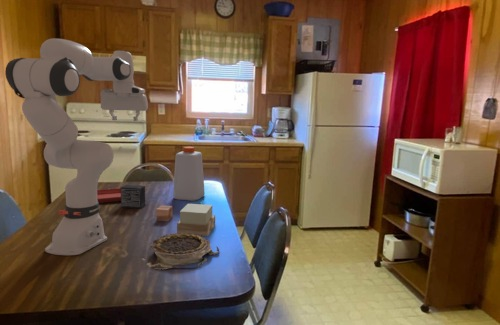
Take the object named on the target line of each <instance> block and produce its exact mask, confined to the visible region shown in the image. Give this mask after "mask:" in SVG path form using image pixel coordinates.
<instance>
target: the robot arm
mask: <svg viewBox="0 0 500 325" xmlns="http://www.w3.org/2000/svg"><path fill="white" fill-rule="evenodd" d="M39 55H40V58H33V57H31V58H27V57H19V58H14V59H11V60H9V62H8V63H7V65H6V66H5V73H4V74H5V79H6V81H7V83H8V85H9V87H10V88H11V89H12V90H13V92H14V94H15V95H16V96H17V97H19V98H21V99H24V100H23V102H22V104H21V111H22V113H23V115H24V117H25V119H26V121H28V123H29V125H30V126H31V128H33V130H34V131H35V132H36V134H38V135H39V137H41V139H42V140H43V141H44V142H45V144H46V145H45V147H44V148H43V149H44V150H43V157H44V158H43V159H44V160H45V162H46V163H47V164H48V165H49V166H51V167H52V166H53V167H56V168H59V169H60V168H61V169H69V170H73V169H74V170H76V171H77V174H76V176H75V177H74V178H72V179H71V180H69V181H68V182H67V183H66V185H65V187H64V190H65V191H64V192H65V206H64V209H59V210H58V215H59V216H63V217H62V219H61V221H60V222H59V224H58V225H57V227H56V228H55V230H53V233H52V238H51V241H52V242H51V243H50V244H49V245H48V246H46V247H45V248H44V251H45V252H46V253H47V254H51V255H56V256H77V255H82V254H83V253H85V252H87V251H88V250H91V249H92V248H94V247H97V246H99V245H101V244H102V243H104V242H106V241H107V240H108V236H106V235H105V231H104V230H105V229H104V223H103V219H102V217H101V216H100V213H99V212H100V203H99V202H98V199H97V190H98V186H99V185H98V184H99V180H100V177H101V175H102V174H103V172H104V171H105V170H107V169H108V168H109V167H110V166H111V165H112V163H113V161H114V157H115V156H114V154H115V153H114V150H113V149H112V147H111V145H110V144H109V143H106V142H103V141H99V140H87V139H86V140H85V139H77V138H78V135H79V130H78V126H77V125H76V123H75V122H74V120H72V118H71V117H70V116H69V114H68V113H67V111H65V109H64V108H63V107H62V106H61V105H60V104H59V102H58V100H57V96H58V97H66V96H67V97H68V96H73V95H74V94H75V93H76V92H77V91H78V90H79V87H80V82H81V81H80V80H81V78H80V75H81V76H82V77H83V78H85V80H87V81H90V82H94V81H95V82H97V81H98V82H100V81H102V82H103V81H105V82H106V81H108V82H112V86H113V87H112V88H103V89H102V90H101V91H100V108H101V110H103V111H109V112H108V113H109V114H110V116H111V120H112V121H118V120H117V119H118V118H117V116H116V115H115V114H114V113H115V111H135V114H136V115H135V116H133V118H132V119H133V121H134V122H137V121H139V118H138V117H139V116H140V114H141V112H146V111H148V110H149V102H148V97H147V95H146V89H145V88H141V87H139V86H136V85H135V81H134V73H135V72H134V69H135V68H134V61H133V60H134V59H133V56H132V53H130V52H129V51H126V50H120V49H119V50H114V51H113V53H112V55H111V56H93V54H92V52H91V50H90V49H89V48H88V47H86V46H85V45H83V44H81V43H78V42H76V41H73V40H69V39H64V38H54V37H53V38H49V39H46V40H44V42H42V43H41V46H40V49H39Z"/></svg>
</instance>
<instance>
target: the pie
mask: <svg viewBox="0 0 500 325" xmlns="http://www.w3.org/2000/svg"><path fill="white" fill-rule="evenodd" d="M150 248H151V249H152V251H153V252H154V253H155V256H156V261H157V262H156V263H154V264H152V262H148V263H146V266H148V267H149V268H151V267H154V269H157V270H160V268H159V265H160V267H161V268H163V270H167V269H172V268H174V269H175V267H173V266H185V265H189V264H195V263H198V264H197V267H199V266H200V265H201V264H204V263H205V262H207V261H208V258H206V257H203V256H204V255H206V254H207V255H209V256H216V255H218V254H219V253H220V248H219V247H218V246H216V251H213V250H212V247H211V242H210V241H209V240H208V239H207V238H205V237H204V236H199V235H198V234H195V233H177V232H175V233H169V234H165V235H162V236H160V237H157V239H154V240H153V241H152V242H151V245H150ZM142 261H146V259H144V258H142ZM156 266H157V267H158V268H157V267H156Z"/></svg>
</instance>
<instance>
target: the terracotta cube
mask: <svg viewBox="0 0 500 325" xmlns="http://www.w3.org/2000/svg"><path fill="white" fill-rule="evenodd" d="M155 211H156V212H155V213H156V214H155V215H156V221H158V222H160V221H161V222H169V221H170V220H172V218H173V206H172V205H159V206H158V207H157V208H156V209H155Z"/></svg>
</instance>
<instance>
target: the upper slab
mask: <svg viewBox="0 0 500 325" xmlns="http://www.w3.org/2000/svg"><path fill="white" fill-rule="evenodd" d="M212 215H213V204H200V203H187V204H185V206H184V207H183V208H182V209H181V210H180V211H179V221H180V223H187V224H201V225H206V224H207V223H208V221H209V220H210V219H211V217H212Z"/></svg>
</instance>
